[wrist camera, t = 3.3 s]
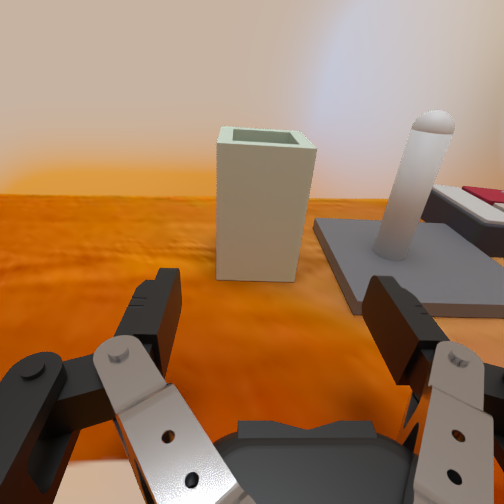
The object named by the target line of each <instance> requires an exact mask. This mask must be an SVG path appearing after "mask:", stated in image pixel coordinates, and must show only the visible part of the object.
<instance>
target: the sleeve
mask: <svg viewBox="0 0 504 504" xmlns="http://www.w3.org/2000/svg"><path fill="white" fill-rule="evenodd" d="M316 152H317V148H316V147H315V146H314V145H313V144H312V143H311V142H310V141H309V140H308V139H307V138H306V137H305V136H304V135H303V134H302V133H301V132H300V131H290V130H273V129H257V128H242V127H226V126H222V127H221V130H220V134H219V137H218V140H217V235H216V280H238V281H272V282H294V281H295V275H296V270H297V264H298V258H299V252H300V246H301V240H302V235H303V229H304V223H305V217H306V211H307V205H308V200H309V194H310V188H311V182H312V176H313V170H314V164H315V159H316Z"/></svg>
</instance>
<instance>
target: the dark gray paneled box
mask: <svg viewBox="0 0 504 504" xmlns="http://www.w3.org/2000/svg"><path fill="white" fill-rule="evenodd" d="M421 219H422V220H424V221H425V222H426V223H445V224H446V225H448V226H449V227H450V228H451V229H453V230H454V231H455V232H457V233H458V234H459V235H461V236H462V237H463V238H465V239H466V240H467V241H469V242H470V243H472V244H473V245H474V246H476V247H477V248H478V249H480V250H481V251H482V252H484V253H485V254H486V255H488V256H489V257H503V258H504V190H496V189H487V188H477V187H468V186H463V187H462V189H460V188H458V187H453V186H443V185H434V184H433V187H432V189H431V192H430V194H429V197H428V200H427V202H426V205H425V207H424V210H423V212H422V215H421Z"/></svg>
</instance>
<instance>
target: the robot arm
mask: <svg viewBox="0 0 504 504" xmlns="http://www.w3.org/2000/svg"><path fill="white" fill-rule="evenodd" d="M181 306H182V295H181V282H180V271H179V268H160V269H159V270H158V273H157V275H156V278H155V280H145V281H144V282H143V283H142V284H140V285H139V286H138V287H137V288H136V290H135V292H134V294H133V296H132V299H131V301H130V303H129V305H128V307H127V309H126V311H125V313H124V316H123V318H122V320H121V322H120V324H119V326H118V328H117V330H116V333H115V335H114V337H113V338H110V339H108V340H106V341H105V342H103V343H102V344H101V345H100V346H99V347H98V348H97V349H96V351H95V353H93V354H90V355H87V356H84V357H79V358H75V359H71V360H67V361H63V362H62V359H61V357H60V356H59V355H58V354H56V353H53V352H40V353H36V354H32V355H30V356H27V357H25V358H24V359H22V360H20V361H19V362H17V363H16V364H15V365H13V366H12V367H11V368H10V369H9V371H8V372H7V373H6V375H5V376H4V378H3V379H2V381H1V382H0V504H53V502H54V499H55V496H56V494H57V491H58V488H59V486H60V483H61V481H62V478H63V475H64V473H65V470H66V467H67V465H68V462H69V459H70V457H71V454H72V452H73V449H74V446H75V444H76V441H77V438H78V436H79V433H80V430H81V429H83V428H86V427H90V426H93V425H96V424H99V423H102V422H106V421H109V420H112V421H113V423H114V426H115V428H116V430H117V433H118V435H119V438H120V440H121V442H122V445H123V447H124V450H125V452H126V454H127V457H128V459H129V462H130V464H131V466H132V469H133V472H134V474H135V477H136V479H137V483H138V485H139V487H140V490H141V492H142V495H143V498H144V500H145V502H146V504H494V457H495V458H496V460H497V462H498V463H499V465H500V467H501V468H502V470H503V472H504V368H502V367H498V366H494V365H490V364H486V363H483V362H482V360H481V359H480V357H479V356H478V355H477V354H476V353H474V352H473V351H472V350H471V349H469V348H467V347H466V346H464V345H462V344H459V343H456V342H452V341H450V340H449V339H448V337H447V336H446V335H445V334H444V332H443V331H442V330H441V328H440V327H439V326H438V325H437V323H436V322H435V321H434V319H433V318H432V317H431V316H430V315H429V313H428V312H427V310H426V309H425V308H424V307H423V305H422V304H421V303H420V301H419V300H418V299H417V297H416V296H415V295H413V294H412V293H411V292H409V291H408V290H406V289H405V288H401V286H400V285H399V284H398V282H397V281H396V279H395V278H394V277H393V276H380V275H373V276H372V277H371V279H370V281H369V284H368V287H367V290H366V293H365V296H364V299H363V302H362V316H363V318H364V321H365V323H366V325H367V327H368V329H369V331H370V333H371V335H372V337H373V339H374V341H375V343H376V345H377V347H378V349H379V351H380V353H381V355H382V357H383V359H384V361H385V363H386V365H387V367H388V369H389V371H390V373H391V375H392V377H393V379H394V381H395V383H396V385H410V387H411V389H412V391H411V393H410V395H409V398H408V401H407V405H406V409H405V412H404V416H403V420H402V424H401V427H400V431H399V434H398V438H397V440H396V441H395V440H393V439H391V438H389V437H387V436H384V435H382V434H379V433H376V432H375V429H374V427H373V424H372V421H337V422H334V423H330V424H327V425H323V426H320V427H317V428H313V429H310V430H305V429H301V428H297V427H293V426H290V425H286V424H282V423H278V422H274V421H238V430H237V432H234V433H231V434H228V435H226V436H224V437H222V438H220V439H219V440H217V441H215V442H214V443H213V444H212V442H211V441H210V439H209V438H208V436H207V434H206V433H205V431H204V430H203V428H202V427H201V425H200V424H199V422H198V421H197V419H196V417H195V416H194V414H193V413H192V411H191V410H190V408H189V407H188V405H187V403H186V402H185V400H184V399H183V397H182V396H181V394H180V393H179V391H178V390H177V388H176V387H175V386H174V385H173V384H172V383H169V384H167V383H166V382H165V375H166V371H167V367H168V363H169V359H170V355H171V351H172V346H173V342H174V338H175V334H176V330H177V326H178V322H179V317H180V313H181Z"/></svg>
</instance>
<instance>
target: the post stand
mask: <svg viewBox="0 0 504 504" xmlns="http://www.w3.org/2000/svg"><path fill="white" fill-rule="evenodd" d="M454 127H455V126H454V121H453V118H452V117H451V116H450V115H449V114H448V113H447V112H445V111H441V110H432V111H428V112H426V113H424V114H422V115H421V116H420V117H418V118H417V119H416V121H415V122H414V124H413V126H412V128H411V131H410V134H409V137H408V140H407V144H406V147H405V150H404V153H403V156H402V159H401V162H400V166H399V169H398V172H397V175H396V178H395V181H394V184H393V187H392V191H391V194H390V197H389V200H388V203H387V206H386V209H385V213H384V216H383V219H382V221H377V220H354V219H331V218H315V220H314V226H313V229H314V231H315V234H316V236H317V238H318V240H319V242H320V244H321V246H322V249H323V251H324V253H325V255H326V257H327V259H328V261H329V264H330V266H331V268H332V270H333V272H334V274H335V277H336V279H337V281H338V283H339V285H340V287H341V289H342V292H343V294H344V296H345V298H346V300H347V302H348V304H349V307H350V309H351V311H352V313H353V315H362V302H363V299H364V296H365V293H366V290H367V287H368V284H369V281H370V279H371V277H372V276H373V275H380V276H393V277H394V278H395V279H396V281H397V282H398V284H399V285H400V286H401V288H405V289H406V290H408V291H409V292H411V293H412V294H413V295H415V296H416V297H417V299H418V300H419V301H420V303H421V304H422V305H423V307H424V308H425V309H426V310H427V312H428V313H429V315H430V316H434V317H479V318H504V267H502V266H501V265H500V264H498V263H497V262H496V261H494V260H493V259H492V258H490V257H489V256H488V255H486V254H485V253H484V252H482V251H481V250H480V249H478V248H477V247H476V246H474V245H473V244H472V243H470V242H469V241H467V240H466V239H465V238H463V237H462V236H461V235H459V234H458V233H457V232H455V231H454V230H453V229H451V228H450V227H449V226H448V225H446V224H445V223H423V222H419V220H420V218H421V215H422V212H423V210H424V207H425V205H426V202H427V200H428V197H429V194H430V192H431V189H432V187H433V184H434V181H435V179H436V177H437V174H438V171H439V169H440V166H441V164H442V161H443V158H444V156H445V153H446V150H447V148H448V146H449V143H450V141H451V138H452V135H453V132H454Z"/></svg>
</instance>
